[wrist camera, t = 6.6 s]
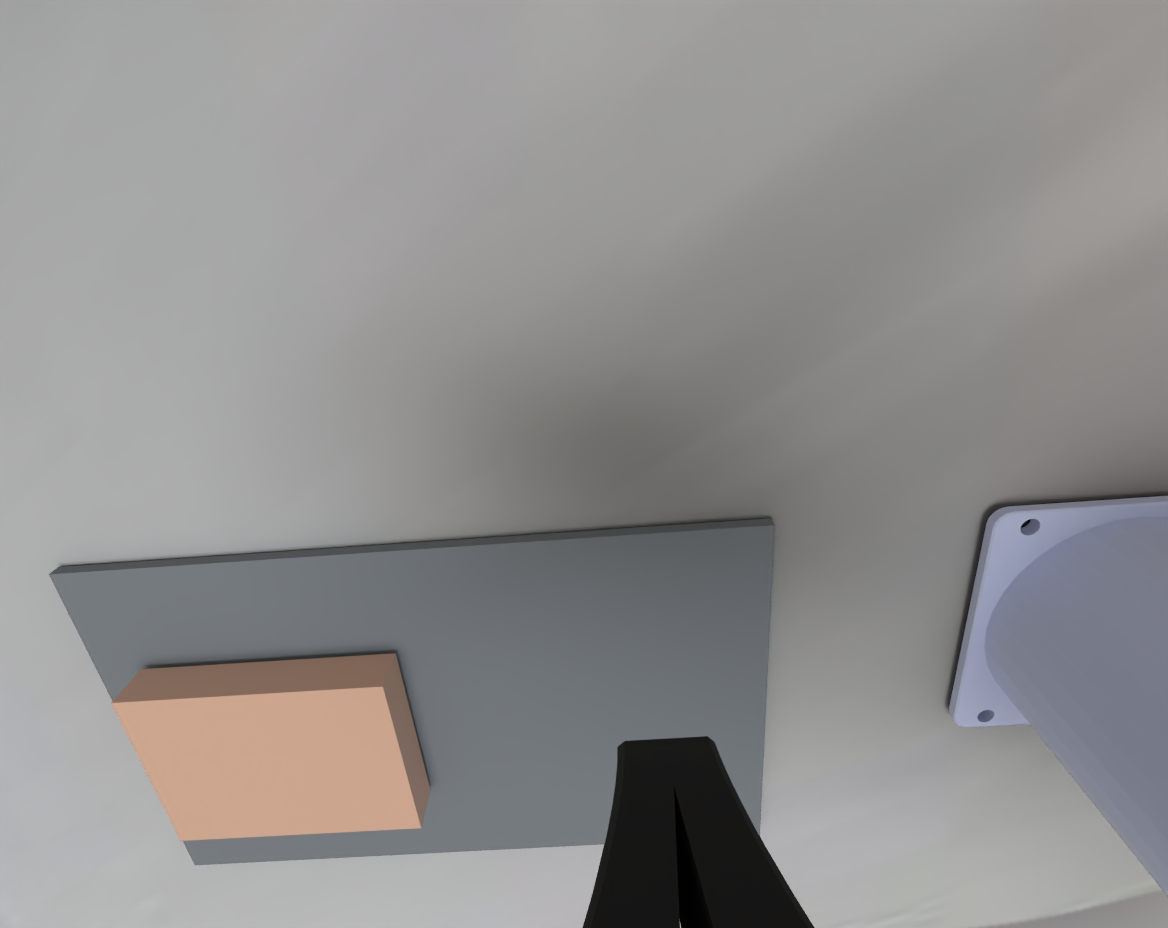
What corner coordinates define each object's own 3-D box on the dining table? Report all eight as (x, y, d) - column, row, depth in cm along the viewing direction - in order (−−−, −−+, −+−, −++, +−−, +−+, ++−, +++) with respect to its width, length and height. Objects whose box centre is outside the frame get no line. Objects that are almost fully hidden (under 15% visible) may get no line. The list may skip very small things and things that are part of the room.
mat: (770, 518, 19) (774, 525, 18) (756, 826, 24) (759, 836, 24) (59, 566, 19) (49, 574, 19) (200, 854, 25) (194, 865, 24)
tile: (383, 686, 19) (111, 702, 19) (421, 828, 21) (180, 840, 21) (397, 649, 20) (145, 664, 20) (431, 785, 23) (206, 797, 23)
